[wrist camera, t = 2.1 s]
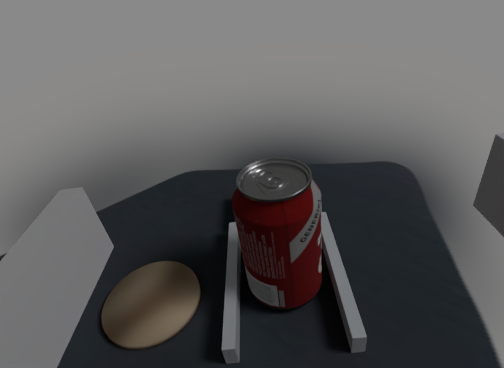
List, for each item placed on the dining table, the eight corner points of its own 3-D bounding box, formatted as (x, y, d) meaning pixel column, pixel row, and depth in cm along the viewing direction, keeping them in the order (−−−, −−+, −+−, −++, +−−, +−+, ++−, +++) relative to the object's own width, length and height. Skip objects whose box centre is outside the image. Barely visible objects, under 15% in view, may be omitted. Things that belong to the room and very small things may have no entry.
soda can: (277, 330, 26) (261, 219, 19) (236, 277, 31) (211, 175, 24) (337, 287, 29) (341, 176, 22) (290, 245, 34) (282, 144, 27)
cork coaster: (82, 329, 28) (79, 325, 28) (146, 256, 35) (145, 253, 35) (162, 366, 25) (160, 362, 25) (217, 277, 31) (216, 273, 31)
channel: (364, 351, 24) (366, 337, 23) (226, 363, 24) (221, 349, 23) (325, 225, 35) (325, 211, 34) (232, 236, 36) (229, 222, 35)
